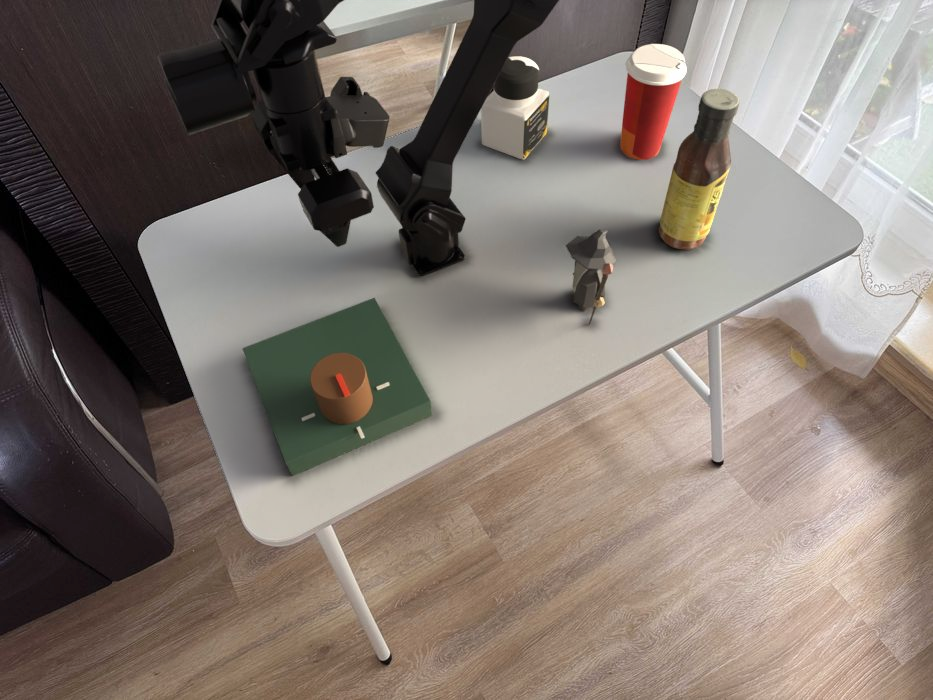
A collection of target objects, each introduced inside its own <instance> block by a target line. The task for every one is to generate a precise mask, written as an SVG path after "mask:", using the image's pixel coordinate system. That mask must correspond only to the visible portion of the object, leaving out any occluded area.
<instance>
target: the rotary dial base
mask: <svg viewBox="0 0 933 700" xmlns="http://www.w3.org/2000/svg"><path fill="white" fill-rule="evenodd" d="M242 351H243V355H244V357H245V360H246V362H247V366H248V369H249V370H250V373H251V375H252V378H253V382H254V383H255V387H256V389H257V392H258V394H259V397H260V400H261V402H262V405H263V407H264V410H265V413H266V416H267V418H268V421H269V423H270V426H271V428H272V432H273V435H274V437H275V439H276V442H277V445H278V447H279V450H280V452H281V456H282V458H283V461H284V463H285V465H286V467H287V469H288V471H289V473H290V475H291V476H292V477H294V476H296V475H298V474H300V473H303V472H305V471H307V470H311V469H312V468H315V467H316V466H319V465H321V464H324V463H326V462H328V461H330V460H334V459H335V458H337V457H339V456H342V455H344V454H346V453H349V452H352V451H353V450H356V449H358V448H360V447H362V446H365V445H368V444H370V443H372V442H374V441H376V440H379V439H381V438H384V437H385V436H386V437H387V436H389V435H391V434H393V433H396V432H397V431H400V430H402V429H405V428H407V427H409V426H412V425H414V424H416V423H418V422H421V421H423V420H425V419H427V418H429V417H432V416H433V409H432V402H431V398H430V397H429V395H428V394H427V391H426V390H425V388H424V386H423V384H422V382H421V381H420V379H419V377H418V375H417V373H416V371H415V369H414V368H413V366H412V364H411V363H410V360H409V358H408V357H407V354H406V353H405V352H404V350H403V348H402V345H401V344H400V342H399V340H398V338H397V336H396V334H395V333H394V331H393V329H392V327H391V325H390V323H389V322H388V319H387V318H386V316H385V314H384V313H383V311H382V308H381V307H380V305H379V303H378V301H377V299H376V298H375V297H372V298H370V299H367V300H365V301H362V302H360V303H359V302H358V303H356V304H354V305H351V306H349V307H347V308H343V309H341V310H338V311H336V312H333V313H330V314H327V315H325V316H323V317H320V318H318V319H315V320H312V321H310V322H307V323H304V324H302V325H299V326H297V327H293V328H291V329H289V330H286V331H284V332H280V333H278V334H276V335H273V336H271V337H267V338H265V339H263V340H259V341H258V342H255V343H252V344H250V345H248V346H247V345H246V346H244V347H242ZM335 353H347V354H351V355H354V356H356V357H357V358H359V359H360V360H361V361H362V363H363V364H364V366H365V369H366V373H367V377H368V381H369V385H370V388H371V392H372V398H373V400H372V405H371V408H370V410H369V411H368V413H367V414H366V415H365V416H364V417H363V418H361V419H360V420H358V421H356V422H354V423H350V424H336V423H333V422H331V421H329V420H328V419H326V418H325V417H324V416H323V414H322V412H321V410H320V407H319V405H318V402H317V400H316V397H315V394H314V392H313V389H312V387H311V383H310V375H311V372H312V370H313V368H314V366H315V365H316V364H317V363H318V362H319V361H320V360H321V359H323V358H324V357H326V356H328V355H331V354H335Z"/></svg>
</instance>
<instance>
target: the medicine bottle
mask: <svg viewBox="0 0 933 700" xmlns="http://www.w3.org/2000/svg"><path fill="white" fill-rule="evenodd" d="M539 76H540V68H539V66H538V64H537V63H536V62H535V61H534V60H532V59H531V58H528V57H525V56H520V55H519V56H518V55H516V56H514V55H513V56H509V57H508V58H507V60H506V62H505V64H504V66H503V68H502V70H501V72H500V74H499V76H498V77H497V79H496V81H495V83H494V85H493V91H492V92H490V93H489V95H488V96H487V98H486V100H485V102H484V104H483V106H482V108H481V110H480V115H481V116H480V117H481V118H480V121H481V123H480V124H481V144H482V146H484V147H488V148H490V149H493V150H495V151H497V152H501V153H504V154H506V155H509V156H511V157H514V158H516V159H520V160H525V159H526V158H527V157H528V156H529V155H530V154H531V152H532V151H533V150H534V149H535V147H537V145H538V144H539V143H540V142H541V140H542V139H543V138H544V137H545V136H546V135H547V133H548V119H549V108H550V107H549V106H550V92H549V91H547V90H545V89H541V88H539Z"/></svg>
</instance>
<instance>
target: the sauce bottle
mask: <svg viewBox="0 0 933 700" xmlns="http://www.w3.org/2000/svg"><path fill="white" fill-rule="evenodd" d="M739 105H740V99H739V97H738V95H736V94H735V93H734V92H732V91H730V90H727V89H725V88H712V89H708V90H706V91H704V92H703V93H702V95H701V96H700V99H699V103H698V108H697V109H698V115H697V118H696V122H695V124H694V125H693V131H692V132H691V133H689V135H687V136H686V137H685V138H684V139H683V140H682V141H681V143H680V145H679V147H678V151H677V154H676V159H675V162H674V163H673V168H672V170H671V174H670V179H669V183H668V187H667V191H666V194H665V199H664V203H663V207H662V212H661V215H660V220H659V224H660V225H659V227H658V233H659V237H660V238H661V239H662V241H663V242H664V243H665V244H667V245H668V246H670V247H671V248H674V249H678V250H694V249H696V248H698V247H700V246H701V245H702V244H703V243H704V241H705V240H706V238H707V235H708V234H709V233H710V230H711V227H712V224H713V221H714V218H715V214H716V212H717V209H718V206H719V202H720V200H721V197H722V194H723V191H724V188H725V184H726V181H727V177H728V174H729V171H730V169H731V165H732V157H731V148H730V147H731V146H730V133H731V132H730V131H731V127H732V124H733V121H734V117H735V116H736V115H737V114H738V109H739Z"/></svg>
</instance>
